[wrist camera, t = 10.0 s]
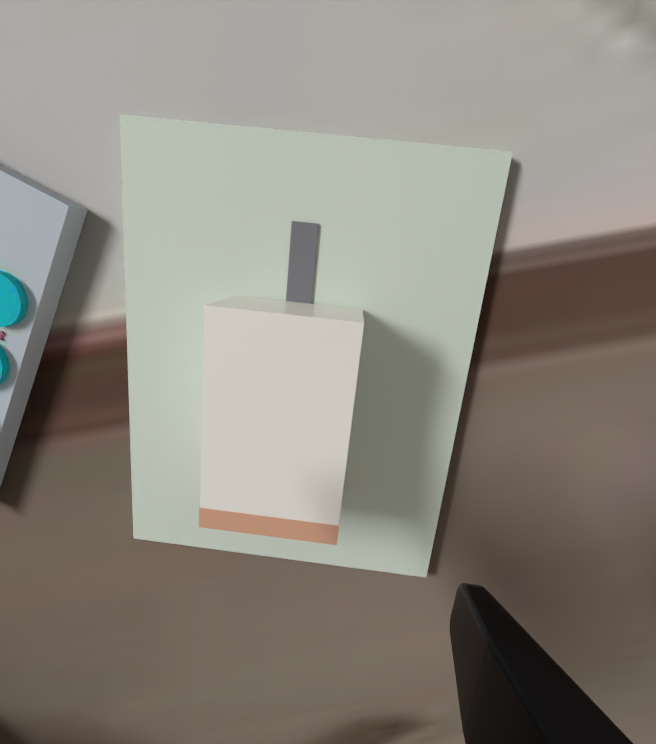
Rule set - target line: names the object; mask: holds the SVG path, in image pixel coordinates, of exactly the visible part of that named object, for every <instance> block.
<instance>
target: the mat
mask: <svg viewBox="0 0 656 744" xmlns="http://www.w3.org/2000/svg"><path fill="white" fill-rule="evenodd" d="M120 139H121V170H122V200H123V231H124V262H125V292H126V323H127V353H128V384H129V414H130V445H131V476H132V506H133V537H134V538H135V539H143V540H150V541H157V542H165V543H172V544H180V545H187V546H195V547H202V548H210V549H217V550H225V551H232V552H240V553H247V554H255V555H262V556H269V557H277V558H284V559H292V560H299V561H307V562H314V563H322V564H329V565H337V566H344V567H352V568H359V569H367V570H374V571H381V572H389V573H396V574H404V575H411V576H419V577H427V572H428V567H429V562H430V557H431V552H432V547H433V542H434V537H435V532H436V528H437V523H438V518H439V513H440V508H441V503H442V498H443V493H444V488H445V483H446V478H447V473H448V468H449V464H450V459H451V454H452V449H453V444H454V439H455V434H456V429H457V424H458V419H459V414H460V409H461V405H462V400H463V395H464V390H465V385H466V380H467V375H468V370H469V365H470V360H471V355H472V350H473V345H474V341H475V336H476V331H477V326H478V321H479V316H480V311H481V306H482V301H483V296H484V291H485V286H486V282H487V277H488V272H489V267H490V262H491V257H492V252H493V247H494V242H495V237H496V232H497V227H498V222H499V218H500V213H501V208H502V203H503V198H504V193H505V188H506V183H507V178H508V173H509V168H510V163H511V159H512V154H513V152H510V151H500V150H489V149H479V148H468V147H458V146H447V145H437V144H426V143H416V142H405V141H395V140H384V139H374V138H363V137H353V136H342V135H332V134H321V133H311V132H300V131H290V130H279V129H269V128H258V127H247V126H237V125H226V124H216V123H205V122H195V121H184V120H174V119H163V118H153V117H142V116H132V115H121V114H120ZM235 295H236V296H246V297H255V298H264V299H273V300H282V301H291V302H300V303H309V304H318V305H327V306H336V307H345V308H354V309H363V317H364V328H363V336H362V344H361V352H360V360H359V368H358V376H357V384H356V392H355V400H354V407H353V415H352V423H351V431H350V439H349V447H348V455H347V463H346V471H345V479H344V487H343V495H342V503H341V510H340V520H339V531H338V539H337V545H331V544H323V543H316V542H308V541H301V540H293V539H285V538H278V537H270V536H263V535H255V534H248V533H240V532H232V531H225V530H217V529H210V528H202V527H199V507H200V477H201V425H202V374H203V323H204V305H206V304H209V303H212V302H215V301H219V300H222V299H225V298H229V297H232V296H235Z"/></svg>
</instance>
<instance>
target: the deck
mask: <svg viewBox="0 0 656 744" xmlns="http://www.w3.org/2000/svg"><path fill="white" fill-rule="evenodd" d="M363 328H364V317H363V309H354V308H345V307H336V306H327V305H318V304H309V303H300V302H291V301H282V300H273V299H264V298H255V297H246V296H236V295H235V296H232V297H229V298H225V299H222V300H219V301H215V302H212V303H209V304H206V305H204V323H203V374H202V425H201V477H200V507H199V527H202V528H210V529H217V530H225V531H232V532H240V533H248V534H255V535H263V536H270V537H278V538H285V539H293V540H301V541H308V542H316V543H323V544H331V545H337V539H338V531H339V520H340V510H341V503H342V495H343V487H344V479H345V471H346V463H347V455H348V447H349V439H350V431H351V423H352V415H353V407H354V400H355V392H356V384H357V376H358V368H359V360H360V352H361V344H362V336H363Z"/></svg>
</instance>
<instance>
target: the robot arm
mask: <svg viewBox="0 0 656 744" xmlns="http://www.w3.org/2000/svg"><path fill="white" fill-rule="evenodd" d="M450 636H451V644H452V652H453V659H454V667H455V675H456V682H457V690H458V698H459V706H460V713H461V720H462V727H463V733H464V738H465V743H466V744H633V743H632V742H631V741H630V740H629V739H628V738H627V737H626V736H625V734H624V733H623V732H622V731H621V730H620V729H619V728H618V727H617V726H616V725H615V724H614V723H613V722H612V721H611V720H610V719H609V718H608V717H607V716H606V715H605V714H604V712H603V711H602V710H601V709H600V708H599V707H598V706H597V705H596V704H595V703H594V702H593V701H592V700H591V699H590V698H589V697H588V696H587V695H586V694H585V693H584V691H583V690H582V689H581V688H580V687H579V686H578V685H577V684H576V683H575V682H574V681H573V680H572V679H571V678H570V677H569V676H568V675H567V674H566V673H565V672H564V670H563V669H562V668H561V667H560V666H559V665H558V664H557V663H556V662H555V661H554V660H553V659H552V658H551V657H550V656H549V655H548V654H547V653H546V652H545V651H544V649H543V648H542V647H541V646H540V645H539V644H538V643H537V642H536V641H535V640H534V639H533V638H532V637H531V636H530V635H529V634H528V633H527V632H526V631H525V630H524V628H523V627H522V626H521V625H520V624H519V623H518V622H517V621H516V620H515V619H514V618H513V617H512V616H511V615H510V614H509V613H508V612H507V611H506V610H505V609H504V607H503V606H502V605H501V604H500V603H499V602H498V601H497V600H496V599H495V598H494V597H493V596H492V595H491V594H490V593H489V592H488V591H487V590H486V589H485V588H484V587H482V586H480V585H473V584H466V583H462V584H460V585H459V587H458V588H457V592H456V596H455V601H454V605H453V609H452V613H451V618H450Z"/></svg>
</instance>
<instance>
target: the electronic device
mask: <svg viewBox="0 0 656 744" xmlns="http://www.w3.org/2000/svg"><path fill="white" fill-rule="evenodd" d="M87 211H88V209H86V208H84V207H82V206H81V205H79V204H77V203H75V202H73V201H71V200H69V199H67V198H65V197H63V196H61V195H60V194H58V193H56V192H54V191H52V190H50V189H48V188H46V187H44V186H42V185H40V184H38V183H37V182H35V181H33V180H31V179H29V178H27V177H25V176H23V175H21V174H19V173H17V172H15V171H14V170H12V169H10V168H8V167H6V166H4V165H2V164H0V487H1V484H2V481H3V478H4V474H5V471H6V468H7V465H8V462H9V459H10V455H11V452H12V449H13V446H14V443H15V439H16V436H17V433H18V430H19V427H20V424H21V420H22V417H23V414H24V411H25V408H26V405H27V401H28V398H29V395H30V392H31V389H32V386H33V382H34V379H35V376H36V373H37V370H38V367H39V363H40V360H41V357H42V354H43V351H44V347H45V344H46V341H47V338H48V335H49V332H50V328H51V325H52V322H53V319H54V316H55V313H56V309H57V306H58V303H59V300H60V297H61V294H62V290H63V287H64V284H65V281H66V278H67V274H68V271H69V268H70V265H71V262H72V259H73V255H74V252H75V249H76V246H77V243H78V240H79V236H80V233H81V230H82V227H83V224H84V221H85V217H86V214H87Z"/></svg>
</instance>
